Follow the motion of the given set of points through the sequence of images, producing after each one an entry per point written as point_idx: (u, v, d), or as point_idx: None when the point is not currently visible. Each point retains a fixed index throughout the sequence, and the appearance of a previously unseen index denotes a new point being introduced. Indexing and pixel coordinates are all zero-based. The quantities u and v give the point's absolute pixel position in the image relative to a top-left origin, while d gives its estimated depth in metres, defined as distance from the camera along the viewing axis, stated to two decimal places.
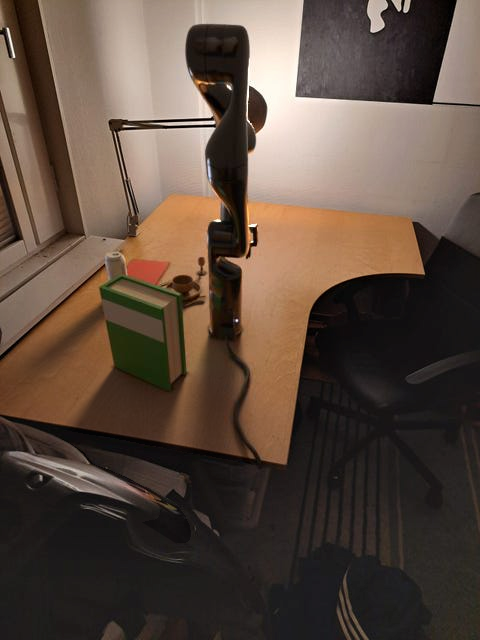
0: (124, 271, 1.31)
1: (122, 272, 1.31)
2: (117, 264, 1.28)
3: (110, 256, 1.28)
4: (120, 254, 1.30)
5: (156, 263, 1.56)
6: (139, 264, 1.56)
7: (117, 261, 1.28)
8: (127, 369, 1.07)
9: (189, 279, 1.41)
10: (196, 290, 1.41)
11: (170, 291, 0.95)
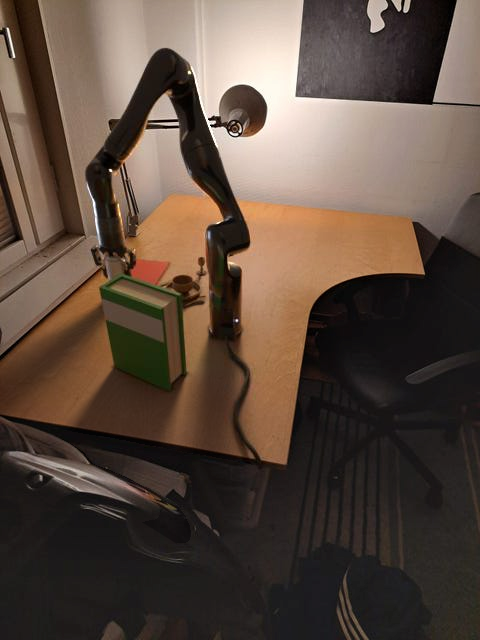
0: None
1: (122, 272, 1.31)
2: (117, 264, 1.28)
3: (110, 256, 1.28)
4: None
5: (156, 263, 1.56)
6: (139, 264, 1.56)
7: (117, 261, 1.28)
8: (127, 369, 1.07)
9: (189, 279, 1.41)
10: (196, 290, 1.41)
11: (170, 291, 0.95)
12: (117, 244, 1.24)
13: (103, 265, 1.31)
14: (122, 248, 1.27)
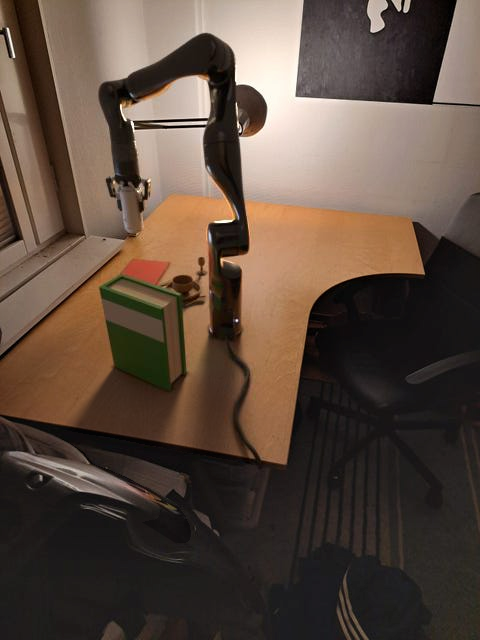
0: (138, 203, 1.33)
1: (136, 203, 1.32)
2: (131, 194, 1.29)
3: (125, 186, 1.29)
4: None
5: (156, 263, 1.56)
6: (139, 264, 1.56)
7: (132, 191, 1.29)
8: (127, 369, 1.07)
9: (189, 279, 1.41)
10: (196, 290, 1.41)
11: (170, 291, 0.95)
12: (132, 172, 1.25)
13: (118, 196, 1.32)
14: (137, 177, 1.28)
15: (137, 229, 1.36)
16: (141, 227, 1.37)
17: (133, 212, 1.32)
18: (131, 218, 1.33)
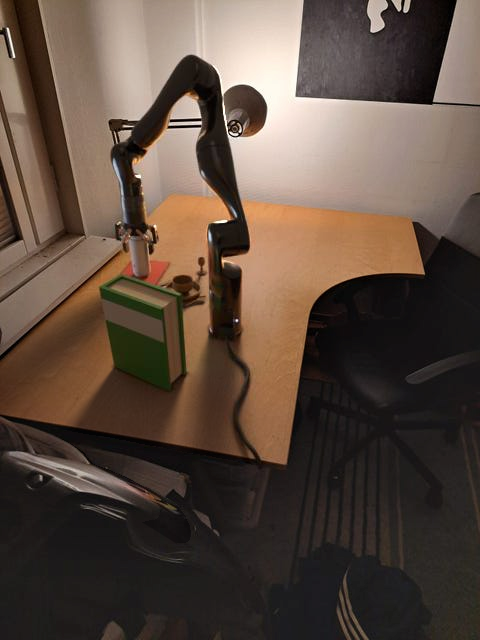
0: (146, 250, 1.43)
1: (144, 251, 1.43)
2: (140, 243, 1.40)
3: (134, 236, 1.40)
4: None
5: (156, 263, 1.56)
6: None
7: (141, 240, 1.40)
8: (127, 369, 1.07)
9: (189, 279, 1.41)
10: (196, 290, 1.41)
11: (170, 291, 0.95)
12: (140, 221, 1.35)
13: (123, 240, 1.42)
14: (144, 225, 1.38)
15: (145, 273, 1.47)
16: (148, 271, 1.48)
17: (141, 258, 1.43)
18: (139, 264, 1.44)
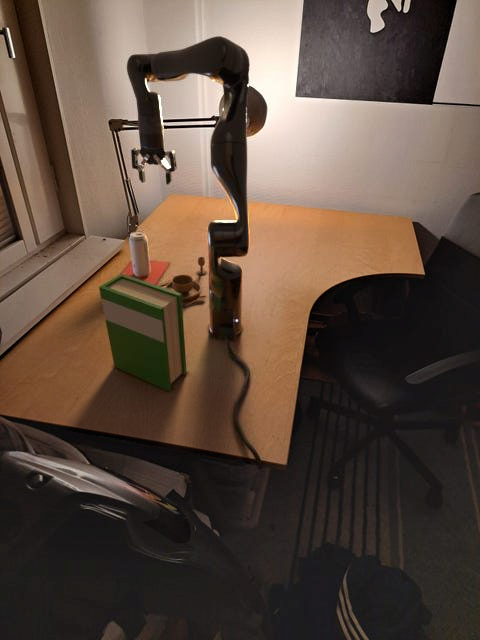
0: (146, 250, 1.43)
1: (144, 251, 1.43)
2: (140, 243, 1.40)
3: (134, 236, 1.40)
4: (143, 234, 1.41)
5: (156, 263, 1.56)
6: None
7: (141, 240, 1.40)
8: (127, 369, 1.07)
9: (189, 279, 1.41)
10: (196, 290, 1.41)
11: (170, 291, 0.95)
12: (158, 145, 1.30)
13: (139, 168, 1.36)
14: (162, 150, 1.32)
15: (145, 273, 1.47)
16: (148, 271, 1.48)
17: (141, 258, 1.43)
18: (139, 264, 1.44)
